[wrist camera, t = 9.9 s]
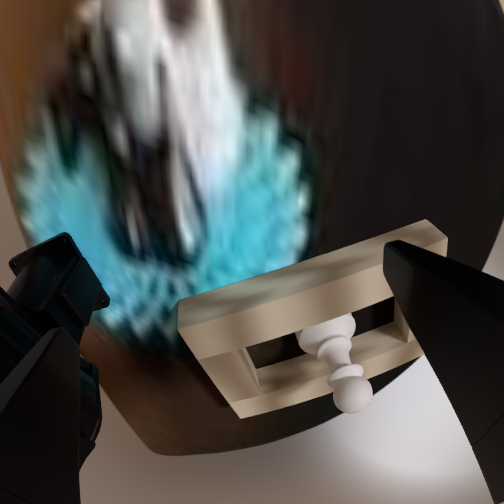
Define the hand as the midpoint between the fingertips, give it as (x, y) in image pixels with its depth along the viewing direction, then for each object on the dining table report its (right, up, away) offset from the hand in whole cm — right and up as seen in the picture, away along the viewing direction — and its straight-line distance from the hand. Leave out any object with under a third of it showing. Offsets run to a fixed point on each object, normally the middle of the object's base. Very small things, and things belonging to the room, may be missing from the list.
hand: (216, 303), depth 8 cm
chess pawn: (+7, -5, +19) cm, 20 cm away
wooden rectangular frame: (+7, -5, +18) cm, 20 cm away
